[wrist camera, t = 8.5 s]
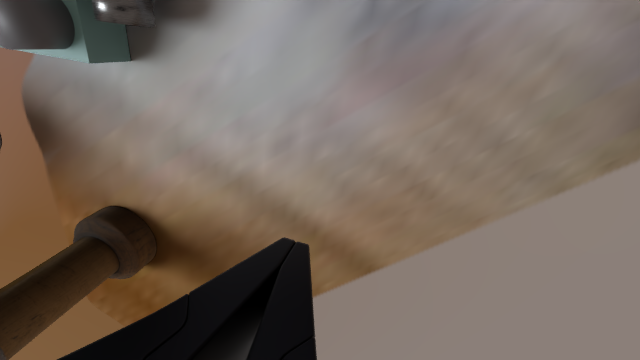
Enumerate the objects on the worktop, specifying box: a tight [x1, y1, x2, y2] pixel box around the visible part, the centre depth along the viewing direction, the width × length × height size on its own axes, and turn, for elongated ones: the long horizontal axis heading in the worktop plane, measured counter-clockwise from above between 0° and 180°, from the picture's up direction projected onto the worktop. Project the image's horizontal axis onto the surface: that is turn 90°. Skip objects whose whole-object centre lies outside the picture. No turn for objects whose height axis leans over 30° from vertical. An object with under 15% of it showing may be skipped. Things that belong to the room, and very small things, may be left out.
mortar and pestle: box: [0, 206, 156, 360], centre depth 19 cm, size 7×6×18 cm
